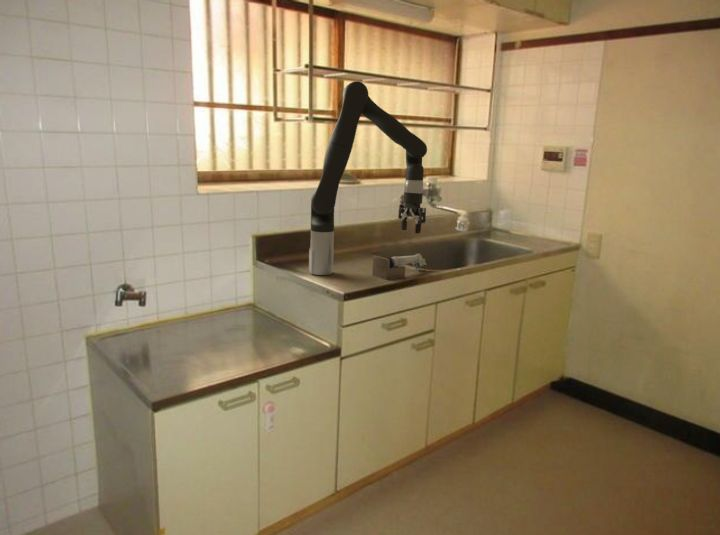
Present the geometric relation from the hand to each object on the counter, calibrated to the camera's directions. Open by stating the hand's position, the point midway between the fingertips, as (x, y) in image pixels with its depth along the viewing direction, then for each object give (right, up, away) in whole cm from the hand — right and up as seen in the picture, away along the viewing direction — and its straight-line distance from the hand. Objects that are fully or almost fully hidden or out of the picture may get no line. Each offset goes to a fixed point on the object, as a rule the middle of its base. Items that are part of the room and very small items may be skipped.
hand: (410, 231), depth 217 cm
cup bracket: (-9, -18, -2) cm, 20 cm away
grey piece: (0, -15, +3) cm, 15 cm away
